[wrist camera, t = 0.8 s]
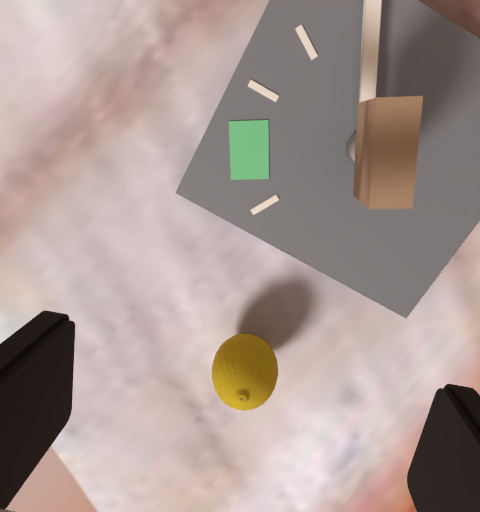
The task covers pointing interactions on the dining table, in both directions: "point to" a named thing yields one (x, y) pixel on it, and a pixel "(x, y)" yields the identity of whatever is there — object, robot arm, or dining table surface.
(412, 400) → the dining table surface
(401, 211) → the board
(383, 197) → the wooden block with handle
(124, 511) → the dining table surface
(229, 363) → the lemon
